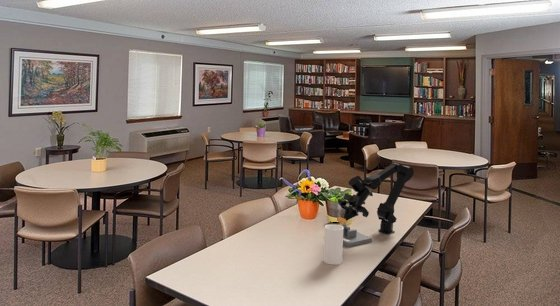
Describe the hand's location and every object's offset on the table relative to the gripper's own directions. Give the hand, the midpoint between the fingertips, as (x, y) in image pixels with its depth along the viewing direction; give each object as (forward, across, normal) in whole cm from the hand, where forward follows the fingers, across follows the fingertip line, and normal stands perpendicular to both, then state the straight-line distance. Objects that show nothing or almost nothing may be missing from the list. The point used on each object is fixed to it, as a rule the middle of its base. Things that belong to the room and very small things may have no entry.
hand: (343, 220), depth 221 cm
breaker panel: (+5, 0, +10) cm, 11 cm away
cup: (+23, +19, -9) cm, 31 cm away
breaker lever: (+2, 0, +7) cm, 8 cm away
